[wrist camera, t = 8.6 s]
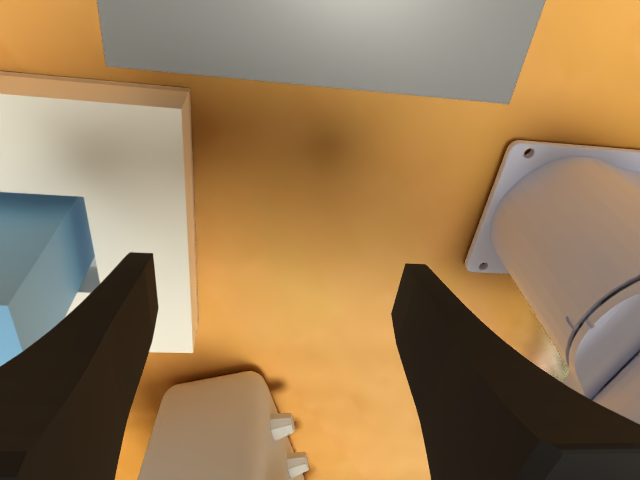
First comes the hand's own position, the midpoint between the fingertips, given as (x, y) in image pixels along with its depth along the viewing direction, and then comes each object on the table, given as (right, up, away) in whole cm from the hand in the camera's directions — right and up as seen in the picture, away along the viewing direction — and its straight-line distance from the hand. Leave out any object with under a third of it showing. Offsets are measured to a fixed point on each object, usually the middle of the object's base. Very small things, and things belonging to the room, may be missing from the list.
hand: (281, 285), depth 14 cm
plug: (-12, +2, +9) cm, 16 cm away
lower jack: (-12, +3, +10) cm, 16 cm away
